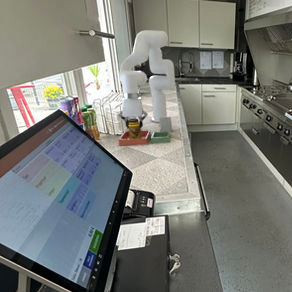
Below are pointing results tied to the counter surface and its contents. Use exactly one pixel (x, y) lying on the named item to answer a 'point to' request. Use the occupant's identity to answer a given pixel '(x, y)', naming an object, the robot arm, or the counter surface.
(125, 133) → the terracotta bin
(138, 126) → the condiment
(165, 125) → the grey rectangular block
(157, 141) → the green bin
